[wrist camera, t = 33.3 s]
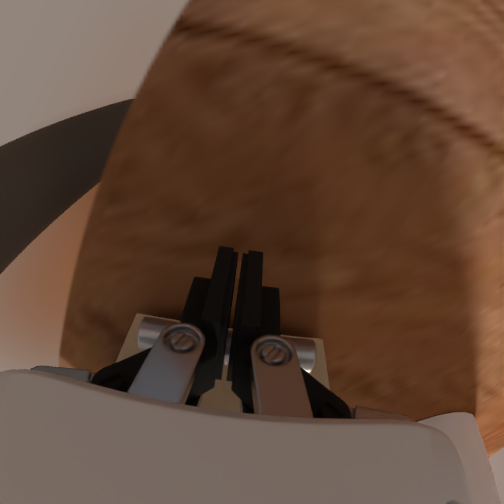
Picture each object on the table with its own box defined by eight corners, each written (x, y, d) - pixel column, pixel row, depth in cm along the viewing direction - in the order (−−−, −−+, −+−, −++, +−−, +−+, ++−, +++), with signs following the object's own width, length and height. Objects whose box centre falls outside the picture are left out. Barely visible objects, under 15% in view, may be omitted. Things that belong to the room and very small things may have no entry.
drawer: (130, 249, 16) (63, 363, 9) (345, 279, 16) (380, 407, 10) (154, 414, 25) (135, 489, 19) (279, 431, 26) (279, 509, 19)
